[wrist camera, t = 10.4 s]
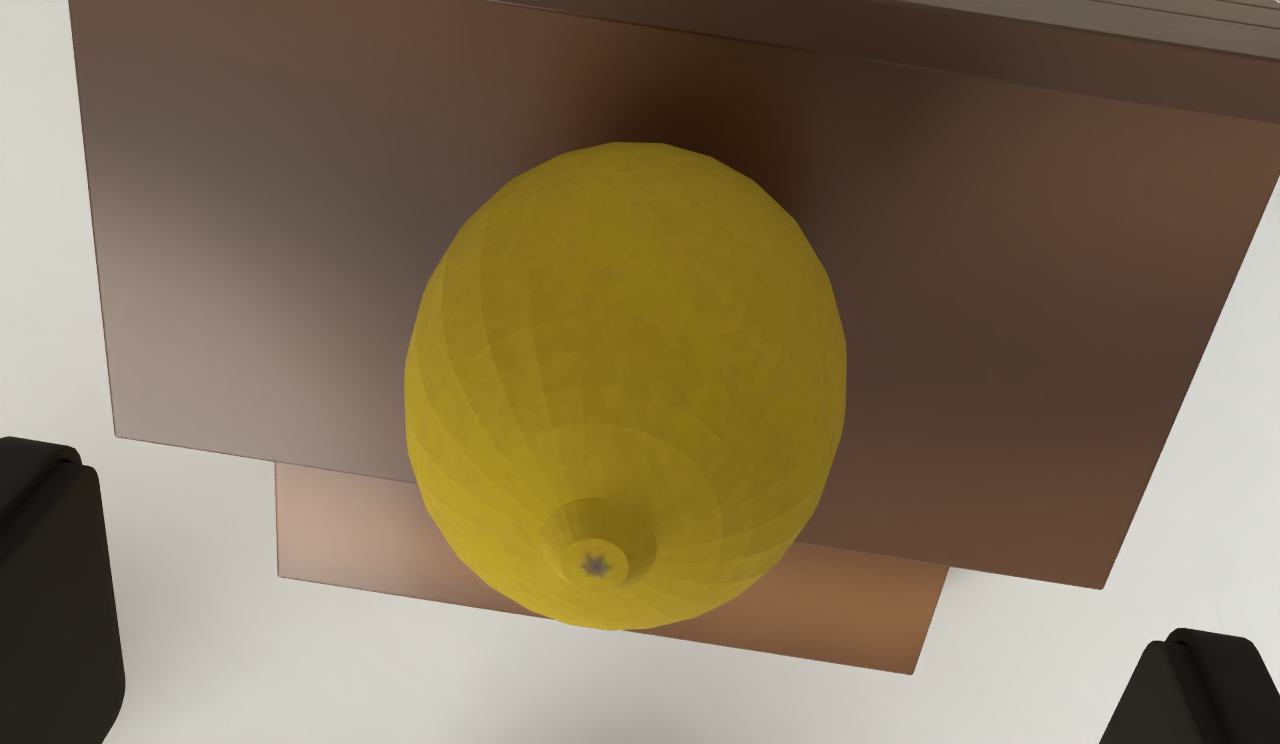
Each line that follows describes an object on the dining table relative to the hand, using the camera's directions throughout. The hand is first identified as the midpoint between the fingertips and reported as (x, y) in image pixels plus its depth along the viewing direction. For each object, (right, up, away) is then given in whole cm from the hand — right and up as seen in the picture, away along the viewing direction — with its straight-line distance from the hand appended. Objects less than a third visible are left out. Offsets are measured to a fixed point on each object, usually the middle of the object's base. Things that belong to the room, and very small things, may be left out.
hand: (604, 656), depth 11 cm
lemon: (+1, +5, +8) cm, 10 cm away
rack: (+1, +5, +20) cm, 21 cm away
